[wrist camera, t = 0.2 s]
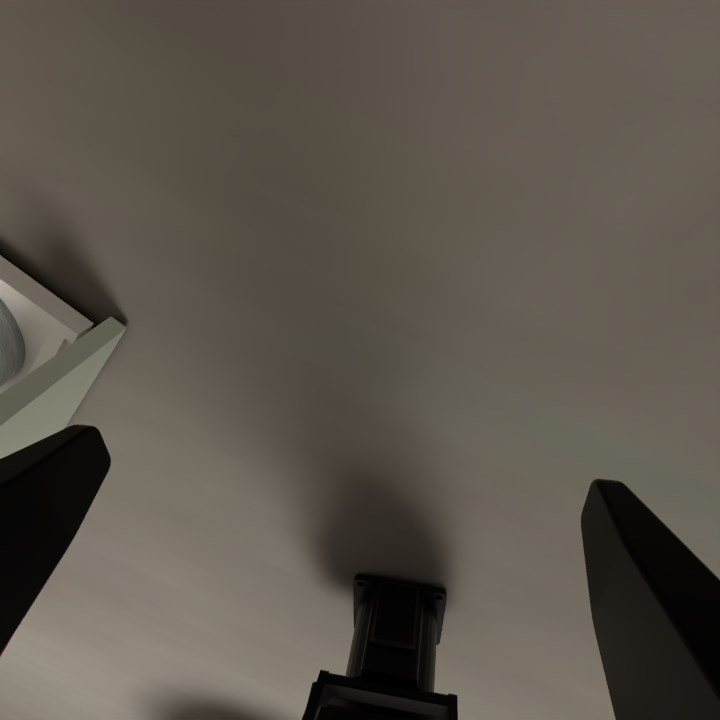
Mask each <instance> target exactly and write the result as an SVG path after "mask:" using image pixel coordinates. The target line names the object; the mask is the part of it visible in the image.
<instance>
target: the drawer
mask: <svg viewBox="0 0 720 720" xmlns="http://www.w3.org/2000/svg"><path fill="white" fill-rule="evenodd" d="M0 299H1V300H2V301H3V302H4V303H5V305H6V306H7V308H8V309H9V310H10V312H11V313H12V315H13V317H14V318H15V320H16V322H17V324H18V326H19V328H20V330H21V333H22V336H23V339H24V343H25V351H26V355H25V362H24V365H23V367H22V369H21V371H20V372H19V373H18V375H16V376H15V377H14V378H12V379H11V380H9V381H8V382H6V383H5V384H4V385H2V386H1V387H0V459H1V458H3V457H6V456H8V455H10V454H12V453H14V452H16V451H18V450H20V449H23V448H25V447H27V446H29V445H31V444H33V443H35V442H37V441H40V440H42V439H44V438H46V437H48V436H50V435H52V434H55V433H57V432H59V431H61V430H63V429H64V428H65V427H66V425H67V424H68V422H69V420H70V419H71V417H72V416H73V414H74V412H75V411H76V409H77V408H78V406H79V404H80V403H81V401H82V399H83V398H84V396H85V395H86V393H87V391H88V390H89V388H90V387H91V385H92V383H93V382H94V380H95V379H96V377H97V375H98V374H99V372H100V370H101V369H102V367H103V366H104V364H105V362H106V361H107V359H108V358H109V356H110V354H111V353H112V351H113V350H114V348H115V346H116V345H117V343H118V341H119V340H120V338H121V337H122V335H123V333H124V332H125V330H126V329H127V328H126V327H125V326H124V325H122V324H121V323H120V322H118V321H117V320H115V319H114V318H113V317H109V318H108V319H106V320H105V321H104V322H102V323H101V324H99V325H98V326H96V327H95V328H94V329H92V330H91V328H92V326H93V325H94V323H92V322H91V321H90V320H88V319H87V318H86V317H84V316H83V315H81V314H80V313H79V312H77V311H76V310H75V309H73V308H72V307H71V306H69V305H68V304H66V303H65V302H64V301H62V300H61V299H60V298H58V297H57V296H55V295H54V294H53V293H51V292H50V291H49V290H47V289H46V288H44V287H43V286H42V285H40V284H39V283H38V282H36V281H35V280H33V279H32V278H31V277H29V276H28V275H27V274H25V273H24V272H23V271H21V270H20V269H18V268H17V267H16V266H14V265H13V264H12V263H10V262H9V261H7V260H6V259H5V258H3V257H2V256H1V255H0ZM90 330H91V331H90Z"/></svg>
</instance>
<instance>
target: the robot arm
mask: <svg viewBox="0 0 720 720" xmlns="http://www.w3.org/2000/svg"><path fill="white" fill-rule="evenodd" d="M110 464H111V458H110V455H109V452H108V450H107V448H106V445H105V443H104V440H103V438H102V436H101V433H100V431H99V430H98V429H97V428H96V427H94V426H88V425H72V426H69V427H67V428H65V429H63V430H61V431H59V432H57V433H55V434H52V435H50V436H48V437H46V438H44V439H42V440H40V441H37V442H35V443H33V444H31V445H29V446H27V447H25V448H23V449H20V450H18V451H16V452H14V453H12V454H10V455H8V456H6V457H3V458H1V459H0V655H1V653H2V651H3V650H4V648H5V647H6V645H7V644H8V642H9V640H10V639H11V637H12V636H13V634H14V633H15V631H16V629H17V628H18V626H19V625H20V623H21V621H22V620H23V618H24V617H25V615H26V614H27V612H28V610H29V609H30V607H31V606H32V604H33V603H34V601H35V599H36V598H37V596H38V595H39V593H40V592H41V590H42V588H43V587H44V585H45V584H46V582H47V580H48V579H49V577H50V576H51V574H52V573H53V571H54V569H55V568H56V566H57V565H58V563H59V562H60V560H61V558H62V557H63V555H64V554H65V552H66V550H67V549H68V547H69V545H70V544H71V542H72V540H73V539H74V537H75V535H76V533H77V531H78V529H79V527H80V525H81V524H82V522H83V520H84V518H85V516H86V514H87V512H88V510H89V508H90V506H91V504H92V502H93V500H94V498H95V496H96V494H97V492H98V490H99V488H100V486H101V484H102V482H103V480H104V479H105V477H106V475H107V473H108V471H109V468H110ZM581 530H582V538H583V547H584V555H585V563H586V572H587V580H588V589H589V597H590V605H591V612H592V619H593V624H594V629H595V634H596V638H597V642H598V647H599V651H600V655H601V659H602V664H603V668H604V672H605V676H606V680H607V685H608V689H609V693H610V697H611V702H612V706H613V710H614V714H615V718H616V720H720V580H719V579H718V578H717V577H716V576H715V575H714V573H713V572H712V571H711V570H710V569H709V568H708V567H707V566H706V565H705V564H704V563H703V562H702V561H701V560H700V559H699V558H698V557H697V556H696V555H695V554H694V553H693V552H692V551H691V550H690V549H689V548H688V547H687V546H686V545H685V544H684V543H683V542H682V541H681V540H680V539H679V538H678V537H677V536H676V535H675V534H674V533H673V532H672V531H671V530H670V529H669V528H668V527H667V526H666V525H665V524H664V523H663V522H662V521H661V520H660V519H659V518H658V517H657V516H656V515H655V514H654V513H653V512H652V511H651V510H650V509H649V508H648V507H647V506H646V505H645V504H644V503H643V502H642V501H641V500H640V499H639V498H638V497H637V496H636V495H635V494H634V493H633V492H632V491H631V490H630V489H629V488H628V487H627V486H626V485H625V484H623V483H622V482H620V481H614V480H604V479H595V480H594V481H593V482H592V483H591V485H590V488H589V492H588V495H587V498H586V501H585V504H584V507H583V511H582V515H581ZM353 584H354V628H355V630H354V635H353V640H352V645H351V650H350V656H349V661H348V666H347V671H346V676H342V675H337V674H332V673H329V671H324V670H320V673H319V676H318V679H317V681H316V682H314V683H312V687H311V691H310V695H309V699H308V703H307V707H306V710H305V713H304V715H303V718H302V720H458V711H457V695H454V694H449V693H448V695H445V694H439V693H434V681H435V660H436V645H438V644H439V643H440V638H441V631H442V625H443V618H444V612H445V606H446V599H447V592H446V590H444V589H442V588H438V587H432V586H426V585H420V584H414V583H408V582H402V581H396V580H390V579H384V578H378V577H372V576H366V575H356V576H355V578H354V583H353Z"/></svg>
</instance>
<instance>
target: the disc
mask: <svg viewBox="0 0 720 720" xmlns="http://www.w3.org/2000/svg"><path fill="white" fill-rule="evenodd" d="M25 355H26V351H25V343H24V339H23V336H22V333H21V330H20V328H19V326H18V324H17V322H16V320H15V318H14V317H13V315H12V313H11V312H10V310H9V309H8V308H7V306H6V305H5V303H4V302H3V301H2V300H1V299H0V387H1V386H2V385H4V384H5V383H6V382H8V381H9V380H11V379H12V378H14V377H15V376H16V375H18V373H19V372H20V371H21V369H22V367H23V365H24V362H25Z"/></svg>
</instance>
